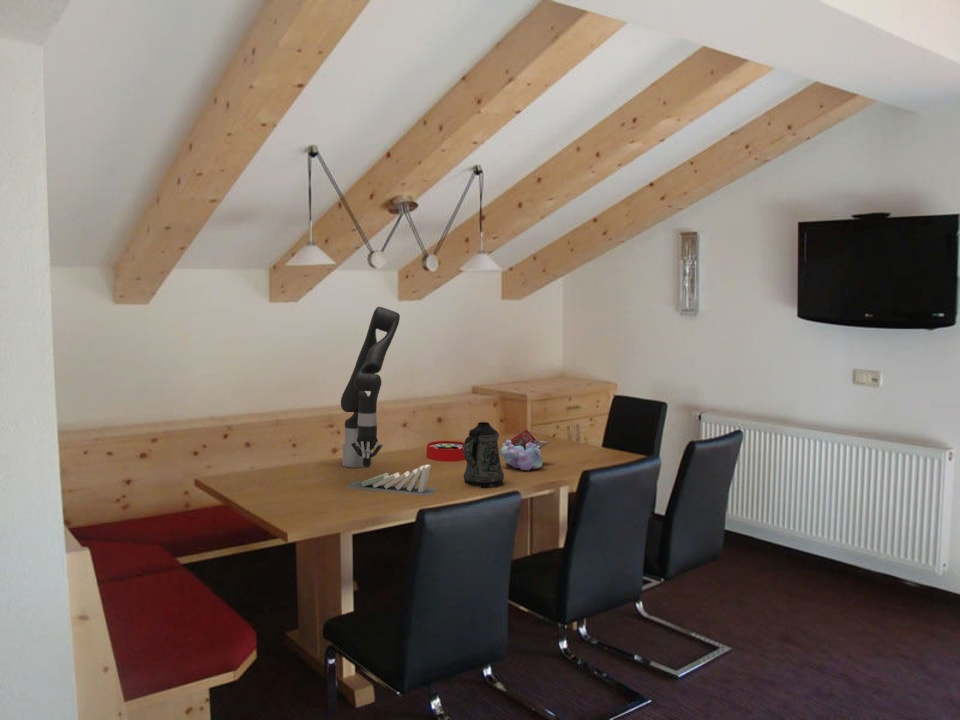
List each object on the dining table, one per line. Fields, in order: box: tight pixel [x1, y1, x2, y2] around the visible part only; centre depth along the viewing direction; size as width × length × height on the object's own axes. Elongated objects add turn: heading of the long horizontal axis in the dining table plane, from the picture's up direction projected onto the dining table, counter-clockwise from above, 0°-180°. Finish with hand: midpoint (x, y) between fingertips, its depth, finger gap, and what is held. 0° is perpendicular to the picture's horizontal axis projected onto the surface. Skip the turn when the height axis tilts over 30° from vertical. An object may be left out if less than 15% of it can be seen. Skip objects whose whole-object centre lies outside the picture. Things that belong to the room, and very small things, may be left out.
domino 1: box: [361, 472, 390, 487], centre depth 322 cm, size 2×5×10 cm
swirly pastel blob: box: [499, 429, 550, 471], centre depth 365 cm, size 20×22×18 cm
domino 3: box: [384, 470, 411, 489], centre depth 320 cm, size 2×5×10 cm
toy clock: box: [426, 440, 466, 463], centre depth 381 cm, size 20×6×20 cm
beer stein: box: [463, 421, 505, 489], centre depth 332 cm, size 16×19×25 cm
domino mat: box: [344, 480, 439, 497], centre depth 321 cm, size 35×12×1 cm, turn 75°
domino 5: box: [407, 465, 424, 491], centre depth 317 cm, size 2×5×10 cm
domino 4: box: [395, 468, 418, 490], centre depth 318 cm, size 2×5×10 cm
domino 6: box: [418, 464, 432, 493], centre depth 317 cm, size 2×5×10 cm, turn 166°
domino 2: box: [372, 471, 401, 488], centre depth 321 cm, size 2×5×10 cm
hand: (366, 467), depth 322 cm, fingers closed
